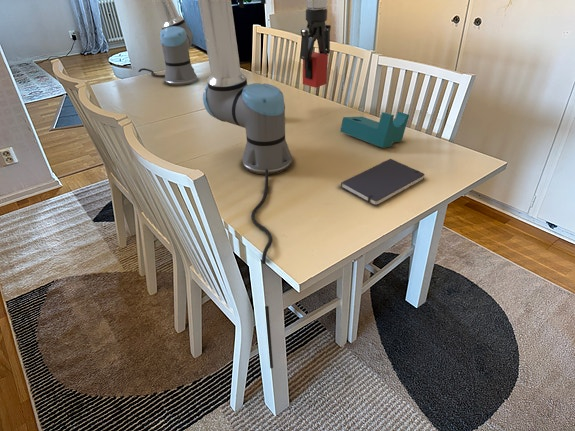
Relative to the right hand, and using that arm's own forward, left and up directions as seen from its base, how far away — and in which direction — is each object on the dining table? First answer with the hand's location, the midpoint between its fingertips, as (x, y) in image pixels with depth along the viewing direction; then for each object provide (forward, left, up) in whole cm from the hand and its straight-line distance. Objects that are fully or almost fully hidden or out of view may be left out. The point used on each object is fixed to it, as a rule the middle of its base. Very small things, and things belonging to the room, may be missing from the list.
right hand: (314, 76), depth 152 cm
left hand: (+61, +15, +16) cm, 65 cm away
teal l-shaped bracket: (-29, -14, -14) cm, 35 cm away
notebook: (-58, -6, -14) cm, 60 cm away
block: (0, 0, -3) cm, 3 cm away
